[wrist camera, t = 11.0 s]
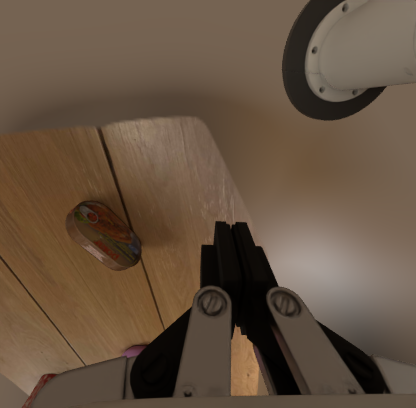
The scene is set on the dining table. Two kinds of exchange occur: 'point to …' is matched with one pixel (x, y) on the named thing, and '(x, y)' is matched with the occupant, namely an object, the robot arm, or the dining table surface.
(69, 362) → the dining table surface
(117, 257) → the tin
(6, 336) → the dining table surface
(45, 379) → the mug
